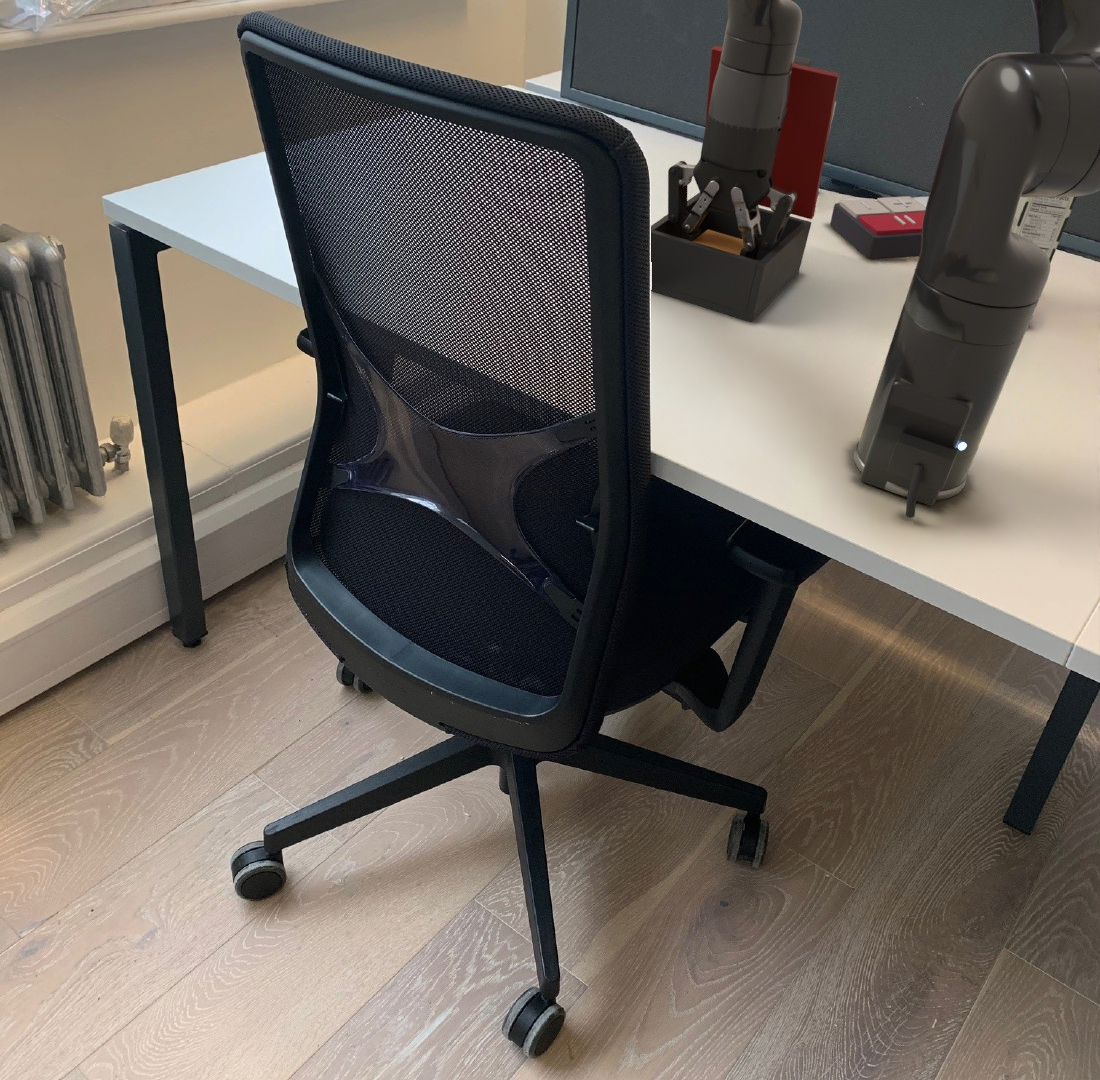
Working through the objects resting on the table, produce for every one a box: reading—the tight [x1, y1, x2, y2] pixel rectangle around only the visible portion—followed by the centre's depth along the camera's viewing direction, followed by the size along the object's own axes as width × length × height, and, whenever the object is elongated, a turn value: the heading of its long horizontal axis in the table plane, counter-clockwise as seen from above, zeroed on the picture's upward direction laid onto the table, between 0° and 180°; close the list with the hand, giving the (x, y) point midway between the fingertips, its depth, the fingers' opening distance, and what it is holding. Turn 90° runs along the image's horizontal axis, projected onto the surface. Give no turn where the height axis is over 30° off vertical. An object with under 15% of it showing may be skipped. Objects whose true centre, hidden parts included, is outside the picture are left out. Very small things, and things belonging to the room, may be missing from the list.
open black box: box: [650, 191, 812, 323], centre depth 116 cm, size 16×14×6 cm
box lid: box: [704, 45, 841, 220], centre depth 114 cm, size 16×14×5 cm
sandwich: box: [692, 230, 744, 255], centre depth 114 cm, size 7×6×4 cm
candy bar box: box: [1012, 196, 1078, 264], centre depth 115 cm, size 11×5×16 cm, turn 168°
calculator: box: [829, 195, 929, 261], centre depth 131 cm, size 11×4×15 cm
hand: (714, 271), depth 115 cm, fingers closed on sandwich, 5 cm apart
